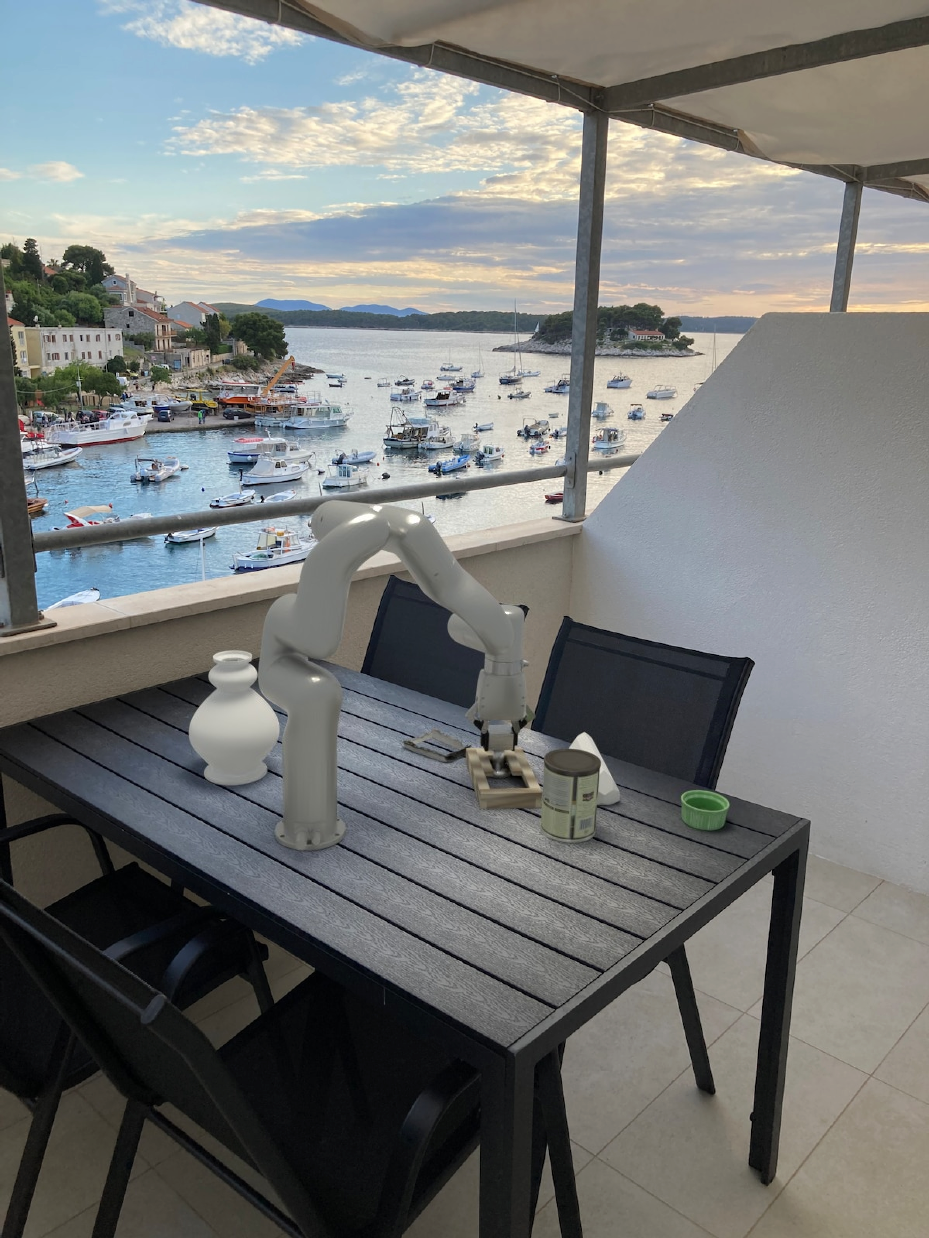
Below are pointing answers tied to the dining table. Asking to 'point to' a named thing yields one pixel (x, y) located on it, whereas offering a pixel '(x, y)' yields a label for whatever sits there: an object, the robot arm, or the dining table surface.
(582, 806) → the coffee can
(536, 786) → the keyhole plate
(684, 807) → the ramekin
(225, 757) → the decorative vase
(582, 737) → the crystal
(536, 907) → the dining table surface
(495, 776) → the keyhole peg
